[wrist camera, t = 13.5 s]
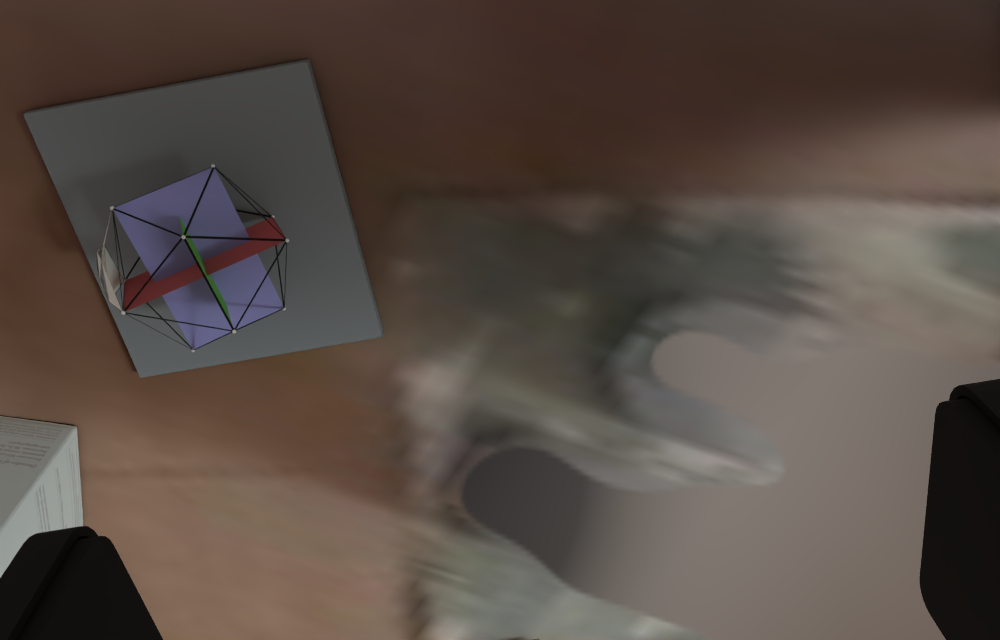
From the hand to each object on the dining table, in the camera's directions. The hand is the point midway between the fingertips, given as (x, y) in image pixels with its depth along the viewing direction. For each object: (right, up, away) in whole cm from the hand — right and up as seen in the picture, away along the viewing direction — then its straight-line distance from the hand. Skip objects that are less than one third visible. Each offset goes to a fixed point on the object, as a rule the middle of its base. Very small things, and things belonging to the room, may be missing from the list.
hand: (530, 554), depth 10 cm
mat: (-13, +7, +28) cm, 32 cm away
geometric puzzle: (-13, +7, +28) cm, 31 cm away
